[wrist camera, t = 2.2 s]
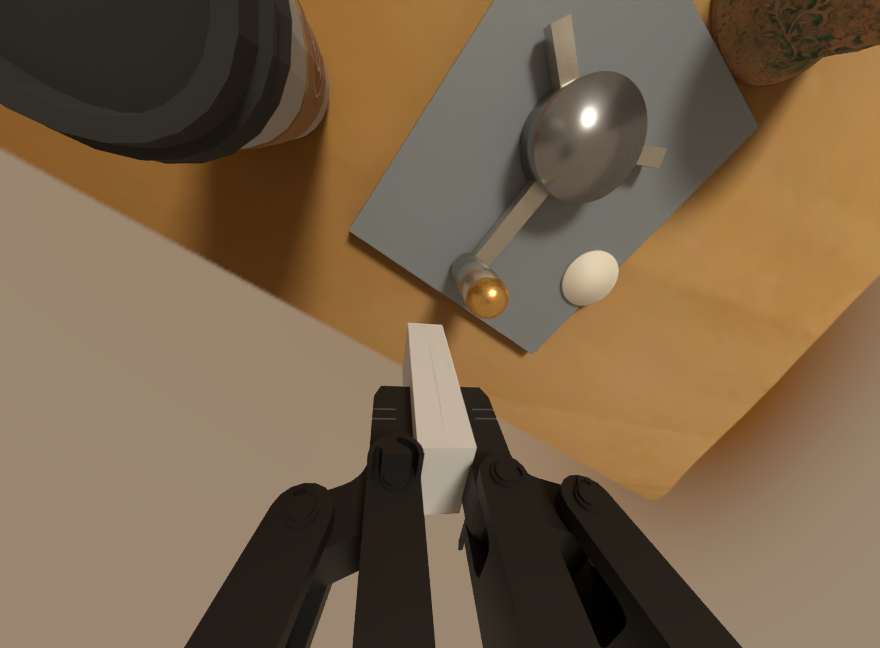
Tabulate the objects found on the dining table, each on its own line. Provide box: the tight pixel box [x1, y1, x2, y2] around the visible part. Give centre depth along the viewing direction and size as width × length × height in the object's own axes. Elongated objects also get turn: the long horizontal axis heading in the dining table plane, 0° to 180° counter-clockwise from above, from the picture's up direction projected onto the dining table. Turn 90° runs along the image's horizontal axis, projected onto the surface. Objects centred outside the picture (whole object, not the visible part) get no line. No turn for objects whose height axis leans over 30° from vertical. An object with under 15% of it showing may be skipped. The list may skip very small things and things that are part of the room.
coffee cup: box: [0, 0, 329, 164], centre depth 13 cm, size 8×8×15 cm
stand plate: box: [349, 0, 759, 354], centre depth 24 cm, size 21×24×2 cm
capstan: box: [452, 14, 667, 319], centre depth 20 cm, size 16×12×7 cm
